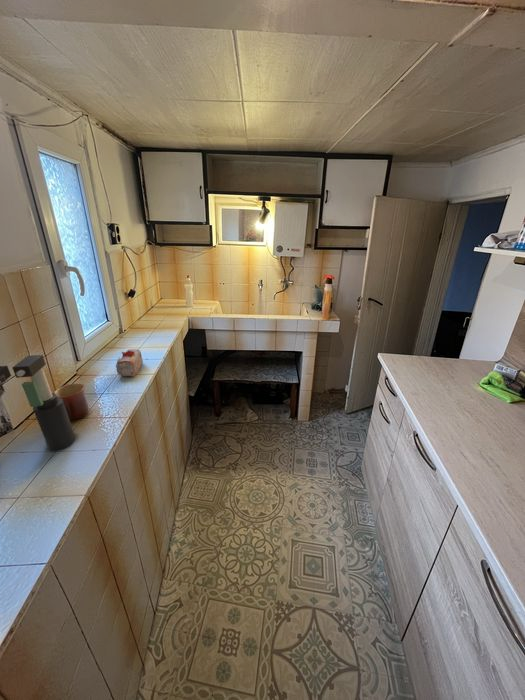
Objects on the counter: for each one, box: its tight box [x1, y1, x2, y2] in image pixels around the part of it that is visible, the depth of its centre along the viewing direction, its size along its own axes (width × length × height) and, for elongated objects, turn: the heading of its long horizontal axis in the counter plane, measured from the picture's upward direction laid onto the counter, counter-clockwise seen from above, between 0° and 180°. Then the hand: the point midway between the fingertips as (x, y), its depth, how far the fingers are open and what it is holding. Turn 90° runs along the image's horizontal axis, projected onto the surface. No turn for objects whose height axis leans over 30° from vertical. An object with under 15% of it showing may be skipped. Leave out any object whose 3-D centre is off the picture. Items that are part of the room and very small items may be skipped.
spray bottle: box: [12, 354, 76, 451], centre depth 79 cm, size 10×7×28 cm
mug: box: [53, 382, 89, 421], centre depth 97 cm, size 12×9×10 cm
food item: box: [115, 348, 144, 377], centre depth 126 cm, size 14×8×10 cm, turn 6°
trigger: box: [21, 380, 44, 408], centre depth 74 cm, size 1×3×7 cm, turn 102°
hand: (4, 371), depth 65 cm, fingers closed
